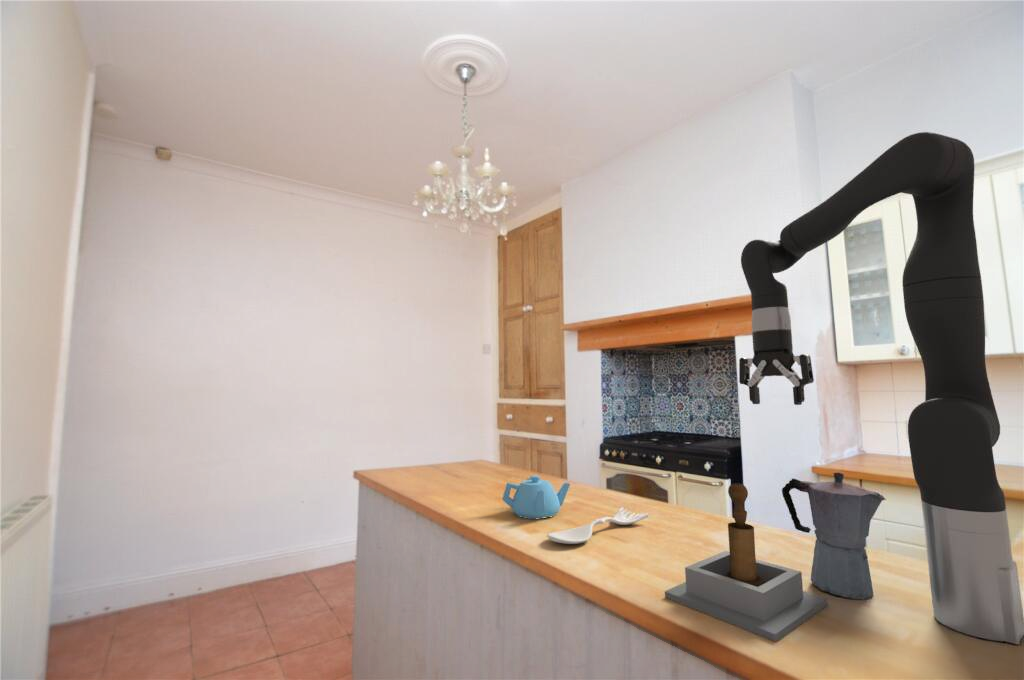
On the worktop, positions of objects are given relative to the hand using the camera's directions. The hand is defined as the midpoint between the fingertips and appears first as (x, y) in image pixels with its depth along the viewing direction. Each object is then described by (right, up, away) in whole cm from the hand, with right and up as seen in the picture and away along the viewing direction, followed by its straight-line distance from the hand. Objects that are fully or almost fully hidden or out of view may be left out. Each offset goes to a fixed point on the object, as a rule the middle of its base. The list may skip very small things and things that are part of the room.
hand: (776, 404), depth 100 cm
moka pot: (0, -30, -19) cm, 35 cm away
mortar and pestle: (-18, -29, -23) cm, 41 cm away
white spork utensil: (-36, -35, +15) cm, 52 cm away
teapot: (-50, -37, +34) cm, 71 cm away
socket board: (-18, -30, -23) cm, 42 cm away
